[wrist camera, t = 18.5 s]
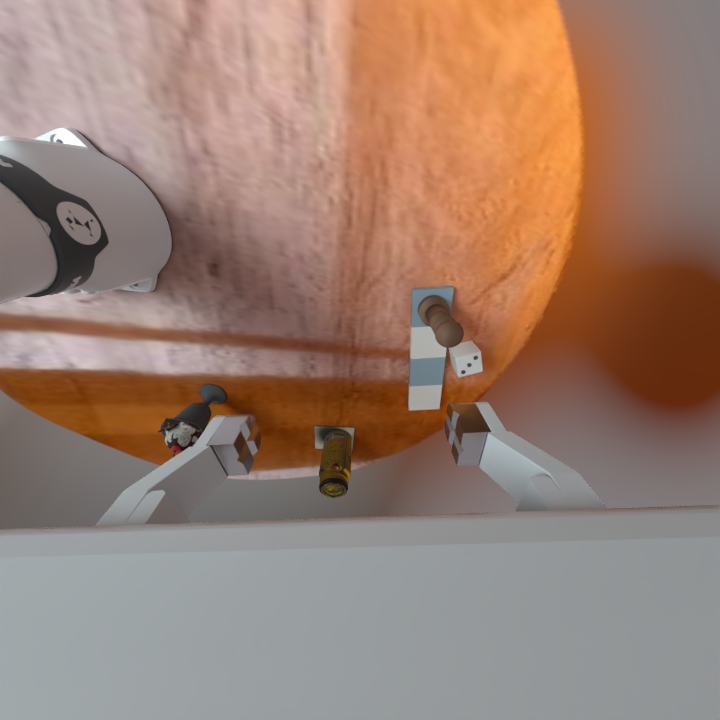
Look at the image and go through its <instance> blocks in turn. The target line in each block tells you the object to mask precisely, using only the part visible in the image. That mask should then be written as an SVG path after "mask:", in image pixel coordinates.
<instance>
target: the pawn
mask: <svg viewBox="0 0 720 720" xmlns="http://www.w3.org/2000/svg"><path fill="white" fill-rule="evenodd" d="M418 314H419V317H420V318H421V320H422V322H423V323H424V324H425V325H426V326H429V327H431V329H432V330H433V332H434V334H435V339H436V341H437V342H438V344H440V345H441V346H443V347H446V348H452V347H455V346H457V345H458V344H459V343H460V342H461V341H462V339H463V336H464V332H463V328H462V327H461V325H460V324H459V323H457V322H455V320H454V319H453V318H452V317H451V315H450V307H449V305H448V303H447V302H446V301H445V300H444V299H443V298H442V297H441V296H439V295H430V296H427V297H425V298H424V299H423V300H422V301H421V302H420V304H419V306H418Z"/></svg>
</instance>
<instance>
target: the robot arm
mask: <svg viewBox="0 0 720 720" xmlns="http://www.w3.org/2000/svg"><path fill="white" fill-rule="evenodd" d="M0 140H1V141H0V304H1V303H5V302H8V301H11V300H14V299H18V298H21V297H41V296H45V295H53V294H58V293H61V294H72V293H77V292H80V291H81V292H82V293H83V294H94V293H98V294H101V293H106V292H110V291H113V290H117V289H119V290H128V291H136V292H150V291H153V290H154V289H155V287H156V284H157V276H158V273H159V272H160V270H161V269H162V268H163V267H164V266H165V264H166V263H167V261H168V259H169V256H170V253H171V246H172V240H171V232H170V228H169V224H168V221H167V219H166V216H165V214H164V212H163V210H162V208H161V206H160V204H159V203H158V201H157V199H156V198H155V197H154V195H153V194H152V193H151V191H150V190H149V189H148V188H147V186H146V185H145V184H144V183H143V182H142V181H141V180H140V179H139V178H138V177H137V176H135V175H134V174H133V173H132V172H131V171H129V170H128V169H127V168H125V167H124V166H122V165H121V164H119V163H117V162H115V161H114V160H112V159H110V158H108V157H106V156H105V155H103V154H102V153H100V152H99V151H98V150H97V149H96V148H95V147H94V146H93V145H92V144H91V143H90V142H89V141H88V140H87V139H86V138H85V137H83V136H82V135H81V134H80V133H79V132H77V131H76V130H74V129H72V128H65V127H59V128H57V129H54V130H52V131H50V132H48V133H45V134H43V135H41V136H39V137H36V138H34V139H28V138H21V137H14V136H1V137H0ZM63 143H64V144H63ZM137 283H138V285H137ZM447 414H448V416H449V417H448V418H447V419H445V433H446V437H447V440H448V442H449V443H450V444H451V445H452V454H453V456H454V459H455V462H456V465H457V466H473V465H474V466H475V465H479V466H480V468H481V469H482V470H483V471H484V472H485V473H487V474H488V475H489V476H490V477H491V478H492V479H493V480H494V481H495V482H496V483H497V484H498V485H499V486H500V487H501V488H502V489H504V490H505V491H506V492H507V493H508V494H509V495H510V496H511V497H512V498H513V499H514V500H515V501H516V502H517V503H519V505H518V507H517V509H516V511H515V512H495V513H468V514H467V513H466V514H437V515H409V516H379V517H352V518H351V517H350V518H324V519H294V520H293V519H291V520H263V521H262V520H261V521H232V522H202V523H190V521H189V520H188V519H187V518H188V517H189V516H190V514H192V513H193V512H194V511H195V510H196V509H197V507H198V506H200V504H201V503H202V502H204V500H205V499H206V498H207V497H208V496H209V495H210V494H211V493H212V492H213V491H214V490H215V489H216V488H217V487H218V486H219V485H220V484H221V483H222V482H223V481H224V480H225V479H226V478H227V476H235V475H248V474H249V472H250V469H251V467H252V464H253V462H254V458H253V455H254V454H255V453H256V452H258V450H259V447H260V444H261V433H260V430H259V428H257V427H256V426H254V424H255V422H256V420H255V418H254V416H253V415H228V416H216V417H214V418H213V419H212V420H211V422H210V423H209V425H208V426H207V427H206V429H205V430H204V432H203V433H202V435H201V436H200V438H199V439H198V440H197V442H196V443H195V445H194V446H193V447H188V448H187V449H185V450H184V451H182V452H181V453H179V454H178V455H176V456H175V457H174V458H172V459H171V460H169V461H168V462H166V463H165V464H163V465H162V466H160V467H159V468H157V469H156V470H154V471H153V472H151V473H150V474H148V475H147V476H145V477H144V478H142V479H141V480H139V481H138V482H136V483H135V484H133V485H132V486H130V487H129V488H127V489H126V490H124V491H123V493H122V494H121V495H120V496H119V497H118V499H117V500H116V501H115V502H114V503H113V505H112V506H111V507H110V509H109V510H108V511H107V512H106V513H105V514H104V515H103V517H102V518H101V519H100V520H99V522H98V523H97V524H96V525H95V526H88V527H87V526H85V527H57V528H26V529H0V720H720V505H698V506H670V507H642V508H641V507H640V508H611V509H607V508H606V506H605V505H604V504H603V503H602V501H601V500H600V499H599V498H598V497H597V495H596V494H595V493H594V491H593V490H592V489H591V488H590V486H589V485H588V484H587V483H586V481H585V480H584V479H583V478H582V477H581V475H580V474H579V473H578V472H576V471H575V470H573V469H572V468H570V467H568V466H567V465H565V464H563V463H562V462H560V461H558V460H557V459H555V458H553V457H552V456H550V455H549V454H547V453H545V452H544V451H542V450H540V449H539V448H537V447H535V446H534V445H532V444H530V443H529V442H527V441H525V440H524V439H522V438H520V437H519V436H517V435H516V434H514V433H512V432H507V431H506V429H505V428H504V426H503V425H502V423H501V422H500V420H499V419H498V417H497V415H496V414H495V412H494V411H493V409H492V408H491V406H490V405H489V403H487V402H474V403H460V404H448V406H447Z"/></svg>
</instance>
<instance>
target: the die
mask: <svg viewBox="0 0 720 720" xmlns="http://www.w3.org/2000/svg"><path fill="white" fill-rule="evenodd" d="M448 349H449V354H450V360H451V365H452V367H453V369H454V371H455V373H456V374H457V376H458V377H462V376H467V375H471V374H475V373H479V372H483V369H482V358H481V351H480V350H479V349H478V347H477V346H476V345H475V344H474V342H473V341H472V340H470V341H467V342H463V343H459V344H458V345H457V346H455V347H452V348H448Z"/></svg>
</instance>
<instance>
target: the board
mask: <svg viewBox="0 0 720 720" xmlns="http://www.w3.org/2000/svg"><path fill="white" fill-rule="evenodd" d="M453 291H454V287H452V286H445V287H431V288H417V289H412V307H411V336H410V365H409V395H408V409H409V411H410V410H429V409H439V408H440V400H441V392H442V383H443V375H444V367H445V358H446V350H447V348H446V347H443V346H441V345H440V344H438V342H437V341H436V339H435V334H434V332H433V330H432V329H431V327H429V326H426V325H425V324H424V323H423V322H422V320H421V318H420V317H419V314H418V306H419V304H420V302H421V301H422V300H423V299H424V298H425V297H427V296H430V295H439V296H441V297H442V298H443V299H444V300H445V301H446V302H447V303H448V305H449V307H450V315H451V308H452V300H453Z"/></svg>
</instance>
